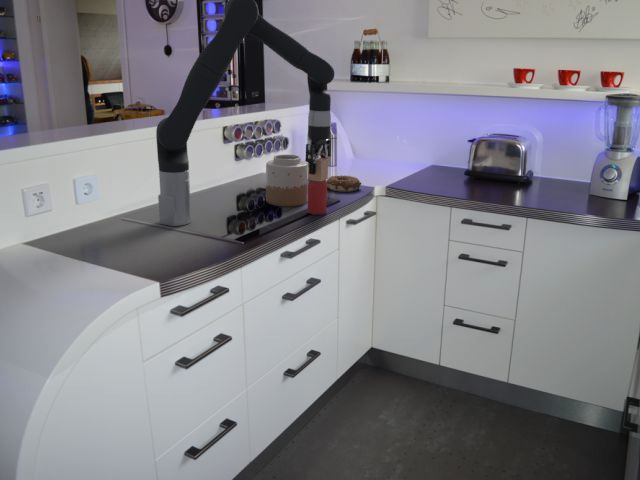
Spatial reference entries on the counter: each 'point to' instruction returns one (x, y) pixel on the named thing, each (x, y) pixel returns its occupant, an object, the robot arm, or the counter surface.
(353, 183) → the donut
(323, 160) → the block
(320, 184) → the beer can
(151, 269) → the counter surface
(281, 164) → the vase
